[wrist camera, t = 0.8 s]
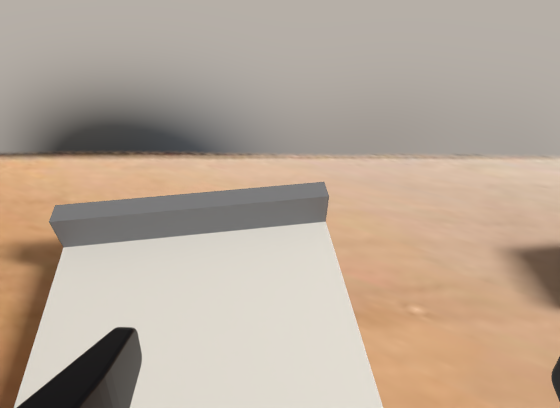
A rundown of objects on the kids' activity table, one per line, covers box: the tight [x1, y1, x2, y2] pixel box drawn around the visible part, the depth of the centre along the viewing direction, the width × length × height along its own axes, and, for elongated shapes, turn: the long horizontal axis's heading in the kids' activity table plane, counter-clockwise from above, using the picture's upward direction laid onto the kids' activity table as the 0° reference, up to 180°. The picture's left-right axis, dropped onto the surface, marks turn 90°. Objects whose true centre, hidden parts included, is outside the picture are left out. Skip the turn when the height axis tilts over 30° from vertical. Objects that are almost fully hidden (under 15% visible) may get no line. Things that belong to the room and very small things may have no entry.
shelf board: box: [14, 182, 383, 408], centre depth 23 cm, size 18×18×6 cm
